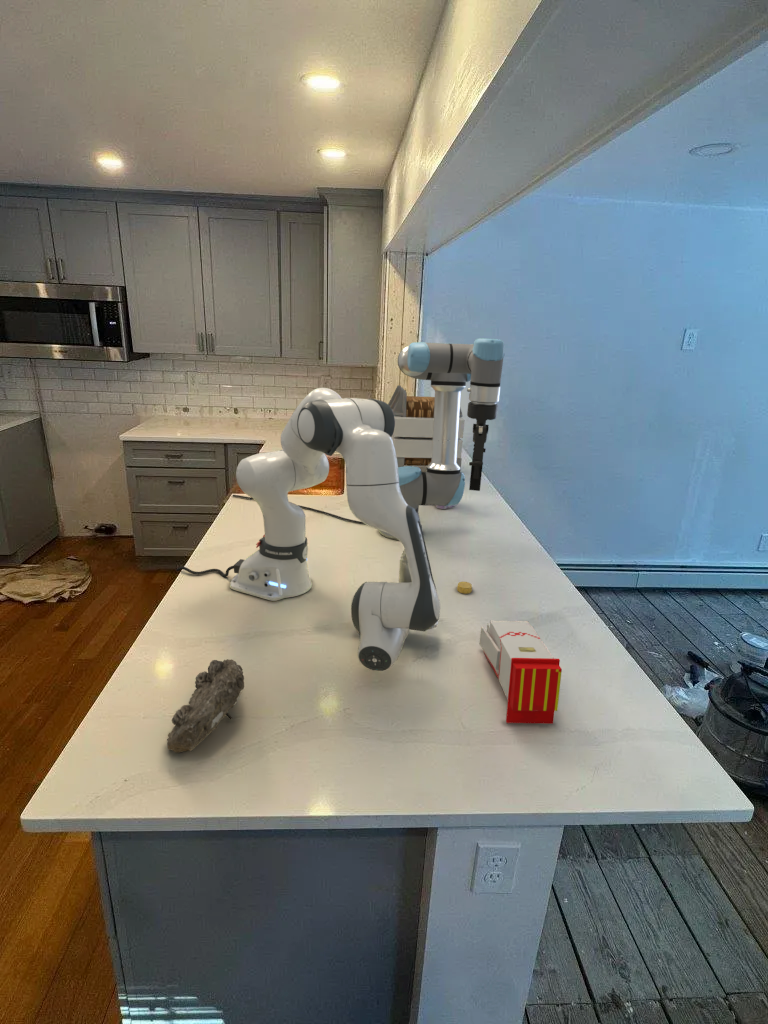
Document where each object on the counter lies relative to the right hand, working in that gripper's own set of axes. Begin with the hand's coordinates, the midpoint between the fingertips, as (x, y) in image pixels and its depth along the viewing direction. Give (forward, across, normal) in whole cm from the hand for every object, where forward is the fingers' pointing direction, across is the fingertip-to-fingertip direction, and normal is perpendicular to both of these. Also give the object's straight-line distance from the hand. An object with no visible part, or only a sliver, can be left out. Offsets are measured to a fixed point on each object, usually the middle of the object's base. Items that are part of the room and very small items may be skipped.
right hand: (475, 482), depth 151 cm
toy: (+32, +40, +12) cm, 53 cm away
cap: (+31, 0, 0) cm, 31 cm away
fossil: (+32, +65, -45) cm, 85 cm away
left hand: (+26, +19, -15) cm, 35 cm away
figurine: (+32, -72, -11) cm, 80 cm away
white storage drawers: (+32, -118, -26) cm, 125 cm away
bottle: (+32, +13, -15) cm, 37 cm away
